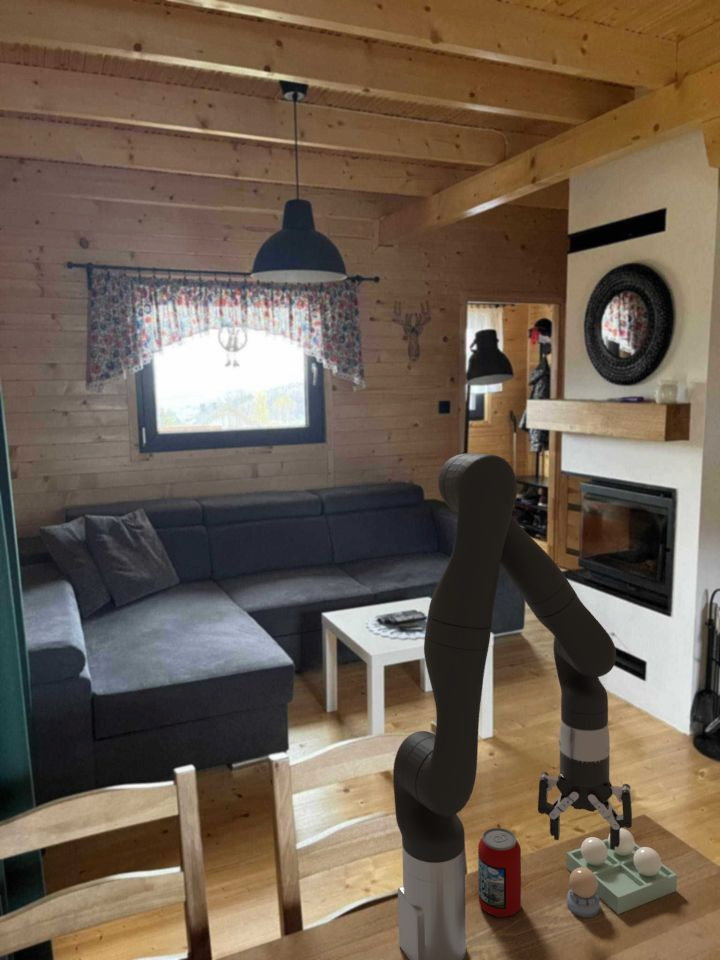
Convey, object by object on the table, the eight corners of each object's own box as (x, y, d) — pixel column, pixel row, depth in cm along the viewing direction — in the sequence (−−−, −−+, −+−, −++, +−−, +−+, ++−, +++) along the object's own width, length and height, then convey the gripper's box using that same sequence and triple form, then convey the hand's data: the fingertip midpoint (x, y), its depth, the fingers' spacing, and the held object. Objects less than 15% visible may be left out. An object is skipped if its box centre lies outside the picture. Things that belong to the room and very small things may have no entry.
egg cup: (581, 921, 116) (581, 906, 115) (560, 901, 120) (560, 887, 120) (606, 911, 118) (606, 896, 117) (585, 892, 122) (585, 878, 122)
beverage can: (470, 899, 121) (469, 832, 120) (504, 887, 124) (504, 820, 123) (494, 926, 115) (494, 855, 114) (529, 912, 118) (529, 843, 117)
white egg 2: (620, 864, 126) (620, 840, 126) (602, 849, 130) (602, 826, 130) (640, 857, 128) (640, 833, 127) (621, 842, 132) (622, 820, 131)
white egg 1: (592, 874, 124) (593, 850, 123) (575, 859, 128) (575, 835, 127) (613, 866, 125) (613, 843, 125) (595, 852, 129) (595, 829, 129)
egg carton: (617, 914, 117) (618, 897, 117) (566, 868, 129) (566, 852, 128) (676, 890, 122) (676, 874, 122) (621, 848, 133) (622, 833, 133)
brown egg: (581, 908, 116) (582, 882, 115) (563, 890, 120) (563, 865, 119) (603, 899, 118) (604, 874, 117) (584, 882, 122) (585, 858, 121)
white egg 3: (646, 885, 121) (647, 860, 120) (627, 869, 125) (627, 845, 124) (667, 877, 122) (667, 853, 122) (647, 862, 126) (647, 838, 126)
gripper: (632, 742, 117) (631, 836, 119) (541, 730, 122) (541, 820, 124) (632, 766, 110) (631, 865, 112) (534, 752, 115) (535, 848, 117)
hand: (584, 842), depth 118 cm, fingers open, 8 cm apart
